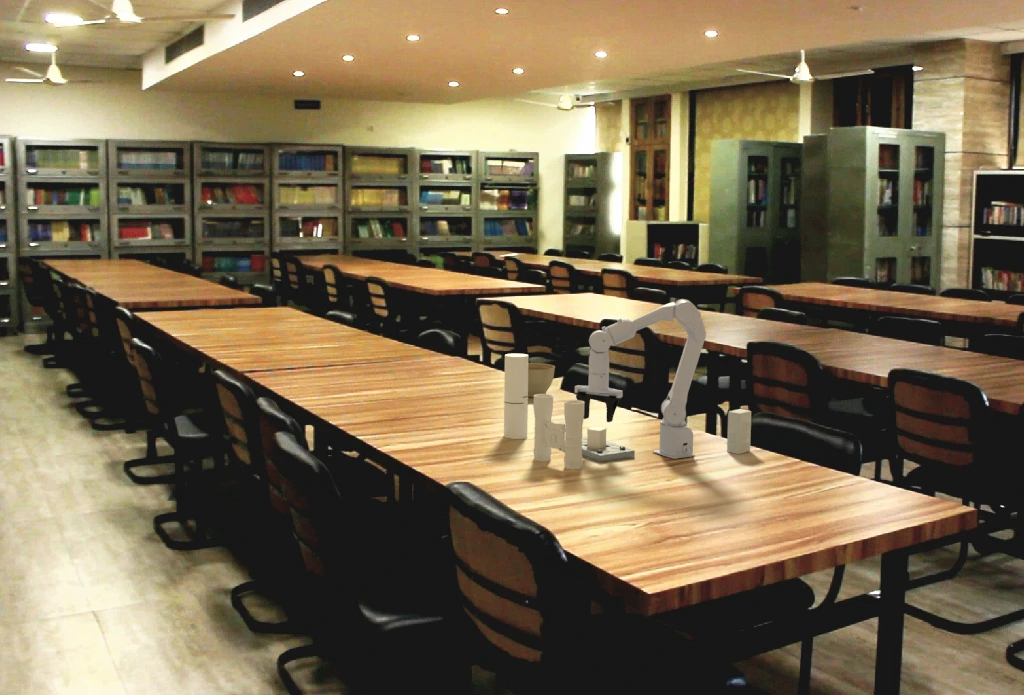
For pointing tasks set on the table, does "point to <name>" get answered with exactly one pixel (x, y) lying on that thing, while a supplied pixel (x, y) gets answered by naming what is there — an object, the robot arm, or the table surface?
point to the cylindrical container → (516, 396)
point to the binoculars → (558, 431)
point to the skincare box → (739, 431)
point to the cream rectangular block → (596, 437)
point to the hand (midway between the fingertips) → (597, 420)
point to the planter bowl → (539, 378)
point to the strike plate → (606, 452)
